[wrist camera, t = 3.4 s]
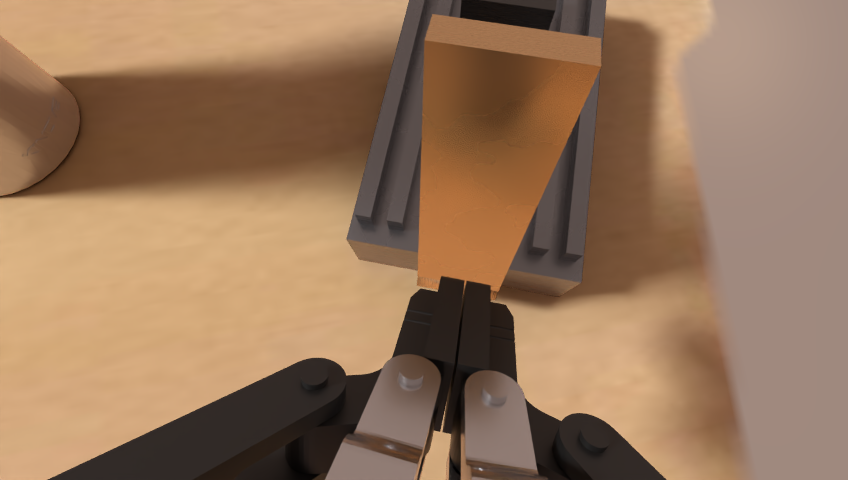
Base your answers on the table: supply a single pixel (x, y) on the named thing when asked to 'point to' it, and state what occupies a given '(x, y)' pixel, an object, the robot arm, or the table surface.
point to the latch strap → (492, 139)
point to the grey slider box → (402, 137)
